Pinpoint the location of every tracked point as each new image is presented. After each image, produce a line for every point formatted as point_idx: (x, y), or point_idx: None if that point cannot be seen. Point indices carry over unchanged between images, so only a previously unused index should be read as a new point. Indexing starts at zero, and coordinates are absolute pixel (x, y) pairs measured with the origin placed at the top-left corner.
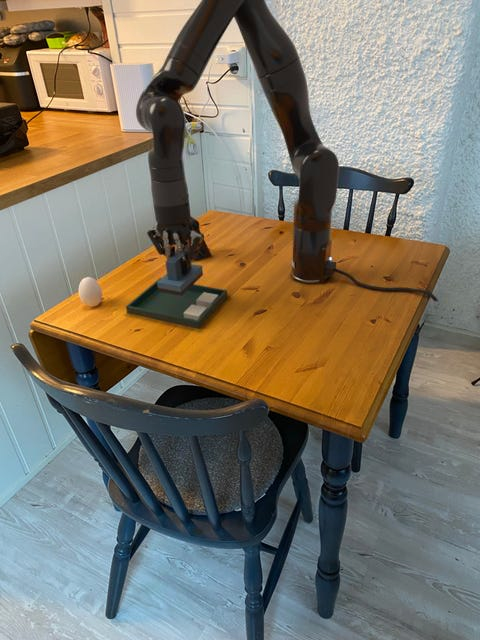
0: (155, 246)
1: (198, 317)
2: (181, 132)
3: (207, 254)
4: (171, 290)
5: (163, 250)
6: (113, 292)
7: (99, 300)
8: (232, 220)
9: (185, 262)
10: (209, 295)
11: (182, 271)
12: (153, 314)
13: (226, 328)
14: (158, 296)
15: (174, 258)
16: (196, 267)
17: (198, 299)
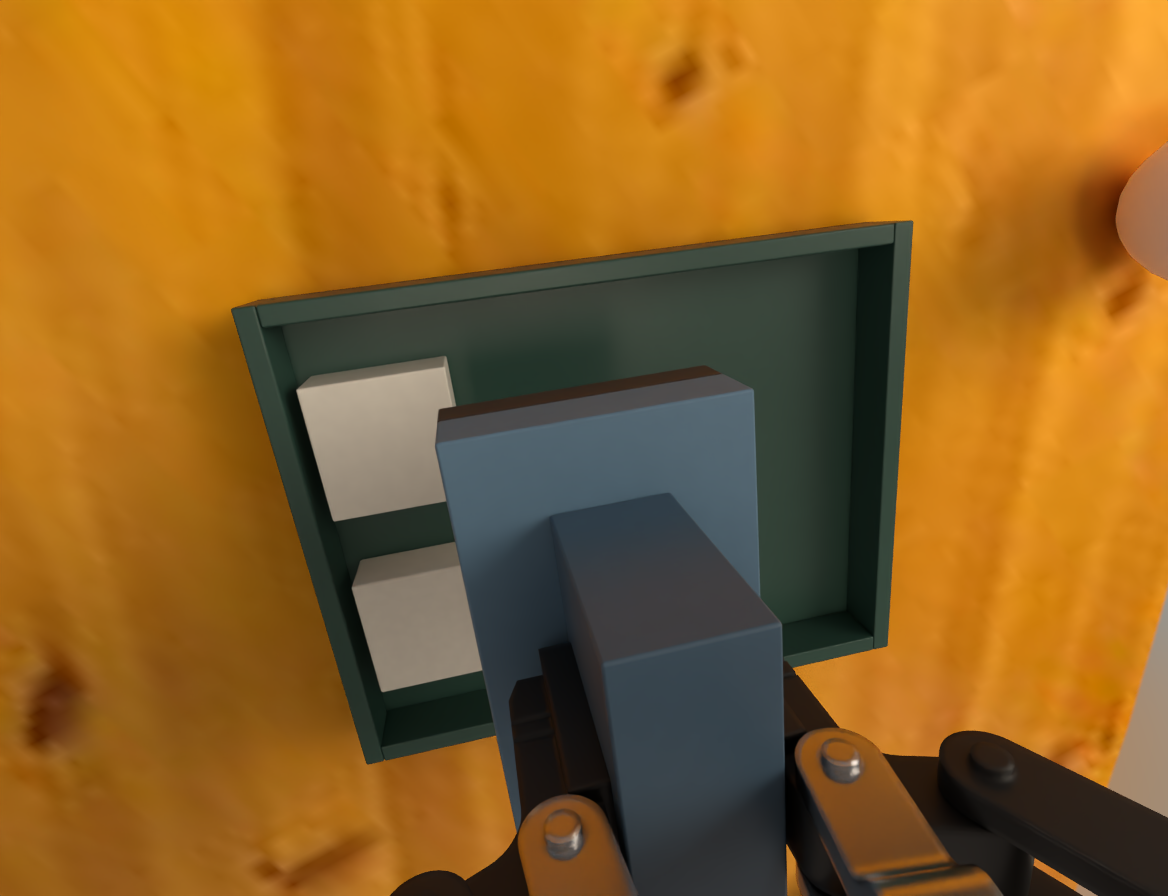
0: (1164, 829)
1: (306, 385)
2: None
3: None
4: (557, 399)
5: (972, 825)
6: (1086, 403)
7: (1134, 207)
8: None
9: (545, 792)
10: (433, 653)
11: (568, 666)
12: (662, 251)
13: (100, 430)
14: (792, 499)
15: (704, 767)
16: None
17: None
